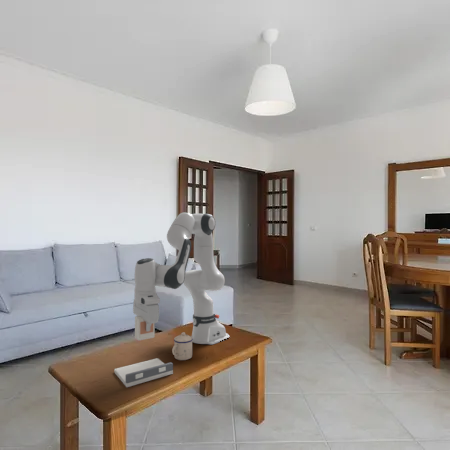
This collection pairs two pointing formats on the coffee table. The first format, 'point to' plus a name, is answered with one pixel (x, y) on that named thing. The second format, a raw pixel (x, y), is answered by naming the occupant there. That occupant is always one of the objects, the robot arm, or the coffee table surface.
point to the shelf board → (143, 371)
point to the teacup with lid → (182, 347)
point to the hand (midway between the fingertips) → (144, 329)
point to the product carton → (143, 329)
